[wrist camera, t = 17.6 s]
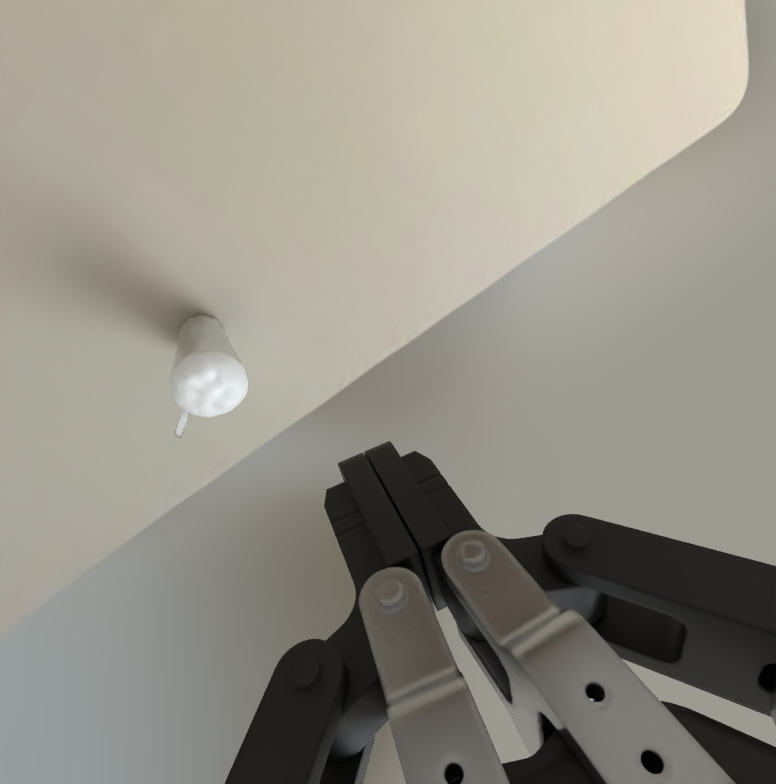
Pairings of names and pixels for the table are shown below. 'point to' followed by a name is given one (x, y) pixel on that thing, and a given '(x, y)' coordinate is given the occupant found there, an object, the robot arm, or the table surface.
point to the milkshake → (205, 371)
